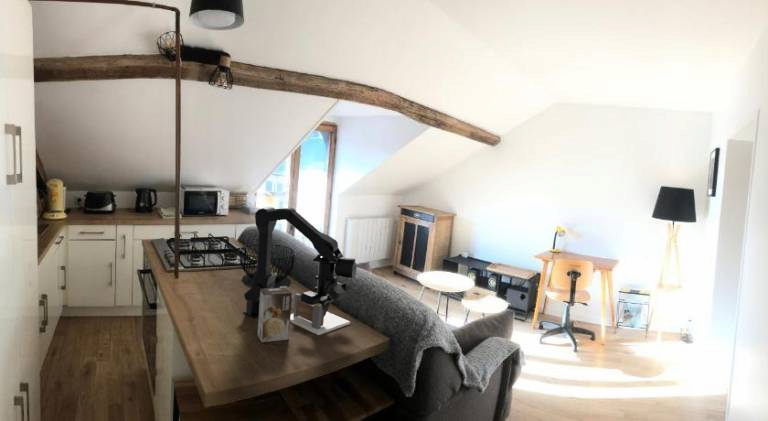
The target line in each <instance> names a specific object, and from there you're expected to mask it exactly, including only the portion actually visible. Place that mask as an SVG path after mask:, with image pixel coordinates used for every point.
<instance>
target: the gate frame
mask: <svg viewBox="0 0 768 421" xmlns="http://www.w3.org/2000/svg"><path fill="white" fill-rule="evenodd" d="M301 294H302V293H295V294H294V303H293V304H294V305H293V313H291V316H290V323H292V324H293V325H296V326H298V327H300V328H302V329H304V330H307V331H309V332H311V333H313V334H316V335H317V336H321V335H323V334H327V333H329V332H331V331H334V330H337V329H340V328H343V327H345V326H348V325H350V324H351V321H350V320H348V319H345V318H343V317H340V316H338V315H336V314H333V313H331V312H329V311H327V312H326V315H325V316H324V321H323V325H322V326H321V318H322V308H323V307H322V306H321V304H320V303H318V304H315V305H314V306H313V317H312V322H310V321H308V320H306V319H304V318H302V317H300V316H298V308H299V302H298V300H300V298H301Z"/></svg>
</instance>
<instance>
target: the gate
mask: <svg viewBox="0 0 768 421" xmlns="http://www.w3.org/2000/svg"><path fill="white" fill-rule="evenodd" d="M298 302H299V308H298V316H300V317H302V318H304V319H306V320H308V321H310V322H312V317H313V306H314V305H309V304H307V303H304V302H302V301H300V300H298ZM324 311H325V309H324V308H322V318H321V326H322V325H323V321H324Z"/></svg>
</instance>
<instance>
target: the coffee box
mask: <svg viewBox="0 0 768 421" xmlns="http://www.w3.org/2000/svg"><path fill="white" fill-rule="evenodd" d="M292 298H293V293H292V291H291V290H290V289H289V288H288V287H285V286H284V287H273V288H264V289H260V305H259V316H258V321H257V322H258V323H257V336H258V338H259V340H260V342H261V343H268V342H277V341H278V342H279V341H287V340H289V339H290V330H291V329H290V328H291V322H290V316H291V314H292V302H293V300H292Z"/></svg>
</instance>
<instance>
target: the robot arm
mask: <svg viewBox="0 0 768 421" xmlns="http://www.w3.org/2000/svg"><path fill="white" fill-rule="evenodd" d="M281 220H283V221H284V220H285V221H286V222H288V223H289V224H290V225H291V226H292V227H293V228H295V229H296V230H297V231H298V232H299V233H301V234H302V235H303V236H304V237H305V238H306V239H308V240H309V241H310V243H311V244H312V246H313V248H314V249H315V250H316V252H317V253H318V254H317V255H316V257H314V258H313V259H312V262H318V267H317V268H318V270H317V275H316V276H315V280H317V283H316V284H317V286H315V287H314V291H316V292H313V291H311V290H308V291H305V292H302V293H300V294H301V297H300V301H302V302H304V303H307V304H309V305H315V304H318V303H320V304H321V306H322V307H323V308H324V309H325V311H324V316H325V315H326V312H328V309H329V308H330V305H331V303H332V302H333V301H336V302H338V301H340V300H344V299H345V297H346V295H348V294H349V293H350V292H349V290H350V287H349V286H350V285H349V283H348V282H344V283H341V282H338V278H337V277H340V278H348V279H354V278H355V277H356V274H357V270H358V269H357V263H356V258H354V257H353V258H349V257H348V258H347V257H344V255H343V253H342V252H341V249H339V243H338V241H337V240H336V239H334V238H333V237H331V236H330V235H328V234H326V233H323V232H321V231H319V230H318V229H317V228H316V227H314V225H313V224H311V223H310V222H309V221H308V220H307V219H306V218H304V216H302V215H301V214H300V213H298V212H297V210H296V209H295V208H293V207H287V208H284V207H283V208H275V207H272V206H267V207H262V208H259V209H258V210H256V212H255V214H254V221H255V226H256V229H257V231H258V244H257V259H256V260H257V262H256V271H255V275H254V277H252V278H253V279H252V283H251V288H250V289H249V290H247V291H246V292H245V293H243V297H244V299H245V301H246V308H245V310H243V311H242V312H243V313H244V314H245V315H247V316H250V317H251V318H259V305H260V289H264V288H275V286H276V274H272V272H271V265H272V264H271V260H272V246H273V245H272V244H273V232H274V229H275V228H276V226H277V222H278V221H281ZM335 275H337V277H336V276H335Z"/></svg>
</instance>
